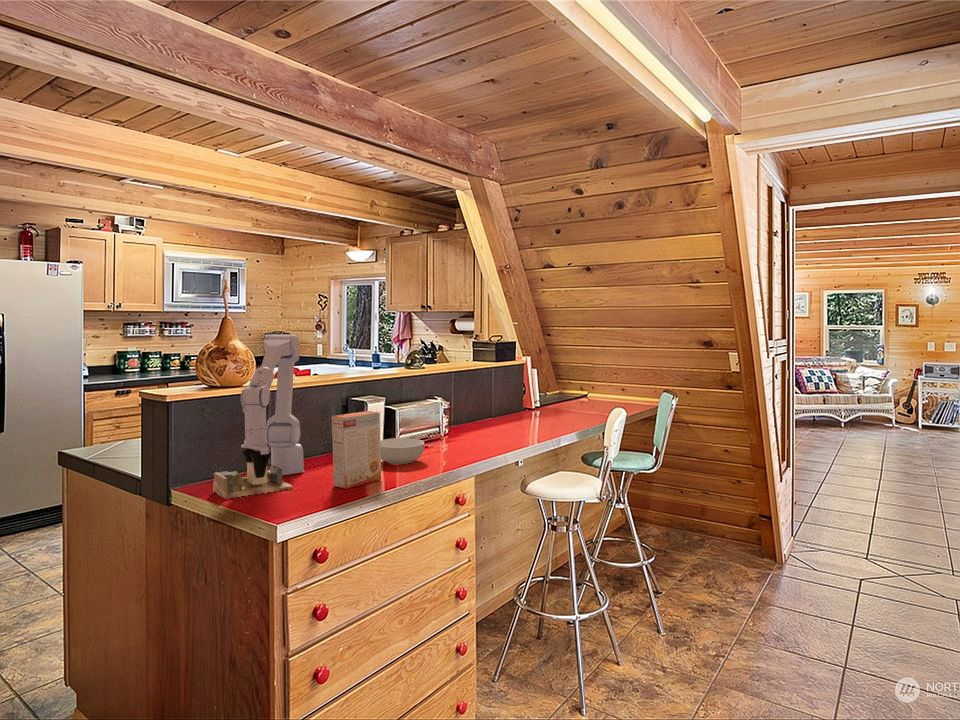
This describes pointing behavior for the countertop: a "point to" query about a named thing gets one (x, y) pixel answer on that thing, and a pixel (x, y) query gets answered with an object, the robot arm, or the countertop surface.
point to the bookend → (276, 474)
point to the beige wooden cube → (252, 477)
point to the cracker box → (356, 449)
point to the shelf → (243, 485)
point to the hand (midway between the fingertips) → (256, 475)
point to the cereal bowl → (401, 450)
